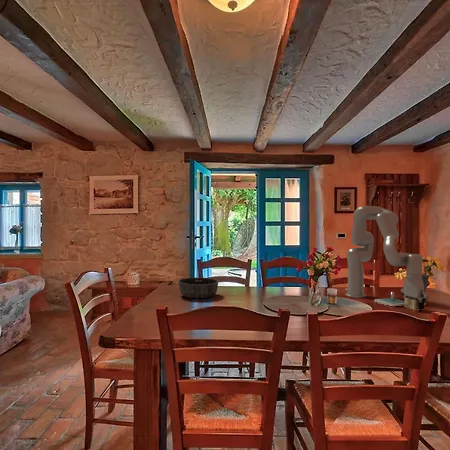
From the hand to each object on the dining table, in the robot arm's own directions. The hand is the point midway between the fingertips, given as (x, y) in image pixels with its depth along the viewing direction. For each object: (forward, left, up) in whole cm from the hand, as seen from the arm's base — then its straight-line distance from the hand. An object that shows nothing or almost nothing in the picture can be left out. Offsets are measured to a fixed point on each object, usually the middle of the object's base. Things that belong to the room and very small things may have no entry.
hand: (413, 307), depth 185 cm
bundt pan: (-66, -107, -2) cm, 126 cm away
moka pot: (-11, +15, -2) cm, 18 cm away
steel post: (-14, -1, 0) cm, 14 cm away
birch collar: (0, 0, -1) cm, 1 cm away
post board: (-14, -1, -1) cm, 14 cm away
